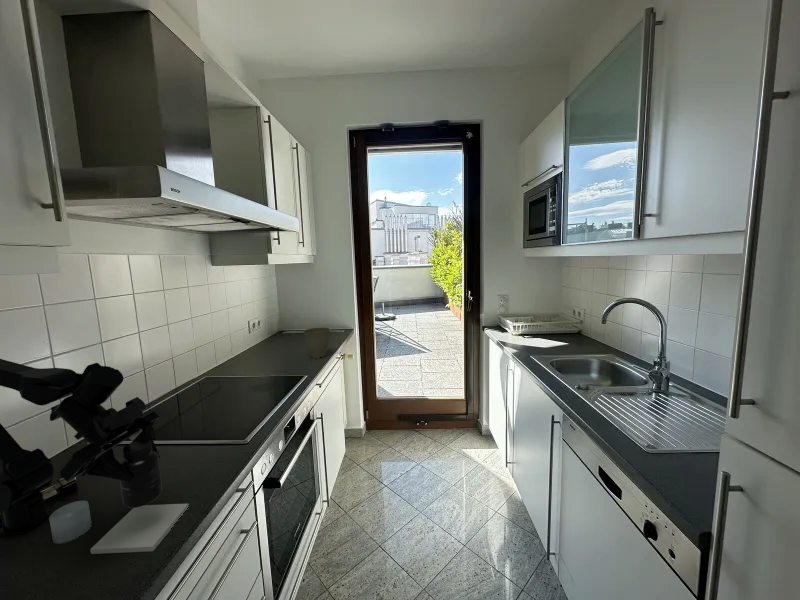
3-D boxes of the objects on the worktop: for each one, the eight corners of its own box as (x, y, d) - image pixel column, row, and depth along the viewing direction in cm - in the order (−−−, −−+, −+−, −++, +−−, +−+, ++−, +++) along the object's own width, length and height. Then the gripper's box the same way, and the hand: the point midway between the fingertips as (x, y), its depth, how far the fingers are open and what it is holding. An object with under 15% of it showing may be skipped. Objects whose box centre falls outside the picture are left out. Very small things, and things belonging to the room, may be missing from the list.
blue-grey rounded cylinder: (44, 544, 71) (40, 521, 70) (71, 522, 77) (68, 501, 76) (74, 543, 71) (70, 520, 70) (99, 521, 77) (95, 500, 76)
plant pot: (334, 353, 208) (332, 327, 207) (327, 360, 194) (326, 332, 192) (309, 353, 209) (307, 327, 207) (301, 360, 194) (299, 332, 192)
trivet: (91, 553, 68) (90, 549, 68) (136, 509, 80) (135, 505, 80) (153, 551, 68) (152, 546, 68) (189, 507, 80) (188, 503, 80)
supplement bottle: (115, 511, 70) (107, 456, 68) (134, 489, 76) (127, 438, 75) (153, 506, 71) (146, 452, 70) (168, 485, 78) (162, 434, 76)
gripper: (66, 412, 62) (131, 471, 63) (147, 376, 80) (197, 422, 81) (31, 453, 63) (95, 510, 64) (119, 408, 82) (168, 453, 82)
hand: (145, 469), depth 73 cm, fingers closed on supplement bottle, 7 cm apart
